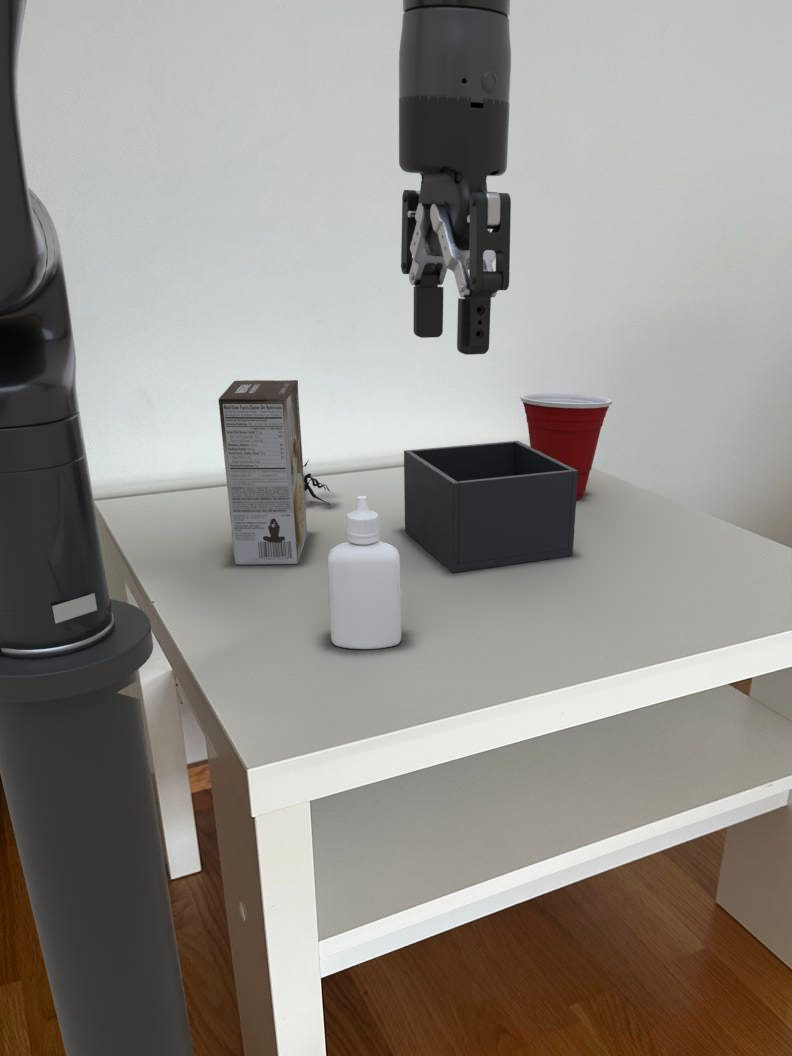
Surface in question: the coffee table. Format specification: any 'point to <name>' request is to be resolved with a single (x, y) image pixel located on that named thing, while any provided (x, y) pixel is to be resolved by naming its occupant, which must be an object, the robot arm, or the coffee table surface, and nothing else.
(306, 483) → the creature
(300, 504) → the coffee box
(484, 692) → the coffee table surface
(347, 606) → the eye dropper bottle
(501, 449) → the bin
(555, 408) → the plastic cup
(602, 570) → the coffee table surface
